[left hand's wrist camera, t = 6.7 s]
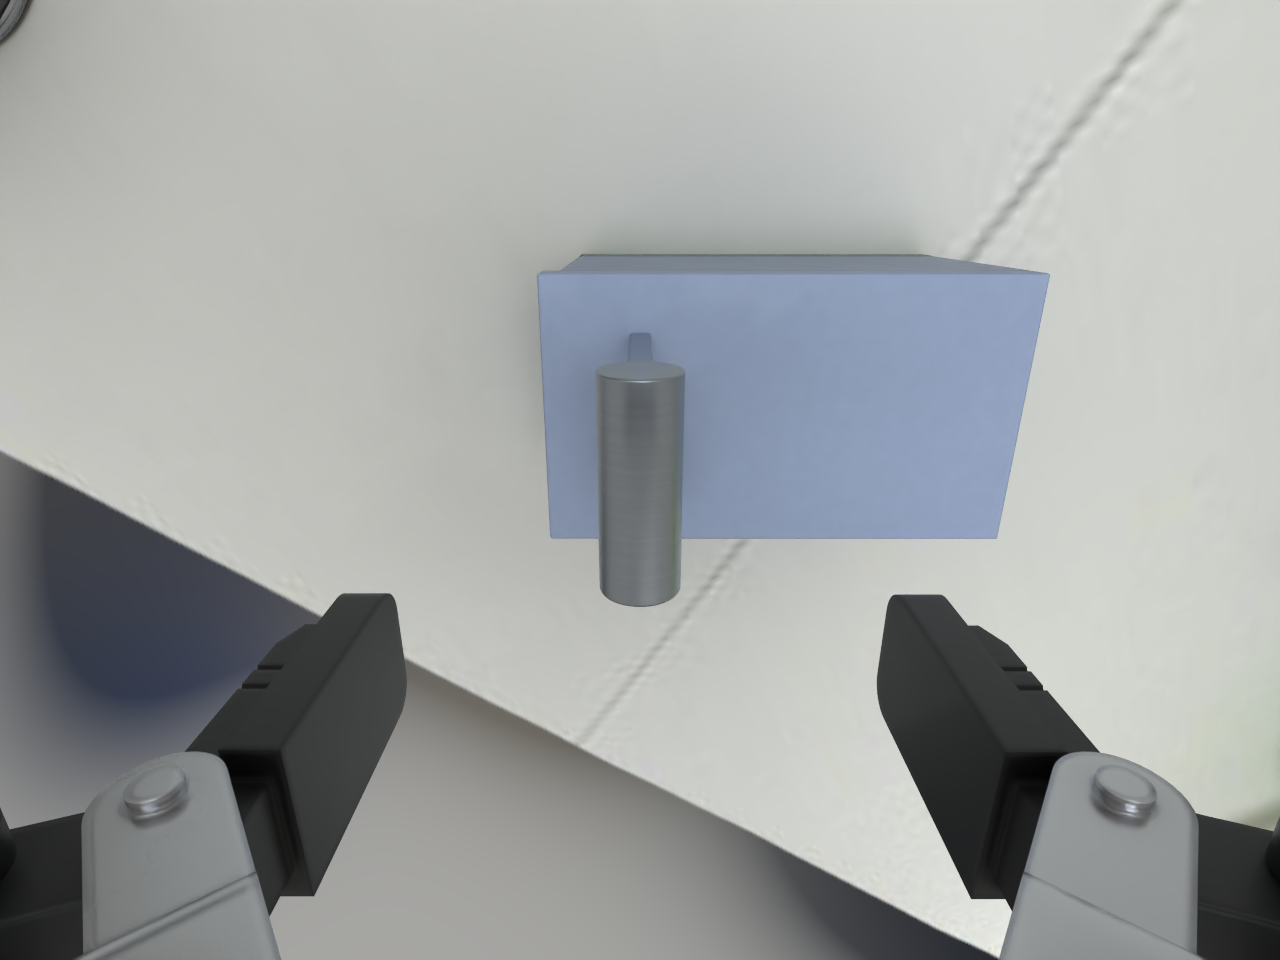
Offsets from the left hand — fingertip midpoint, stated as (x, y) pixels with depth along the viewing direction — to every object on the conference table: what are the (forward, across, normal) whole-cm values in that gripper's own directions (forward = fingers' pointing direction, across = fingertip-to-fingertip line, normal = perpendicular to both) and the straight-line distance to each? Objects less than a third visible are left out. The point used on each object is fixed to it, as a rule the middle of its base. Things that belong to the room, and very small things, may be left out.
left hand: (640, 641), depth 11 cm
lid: (+15, -5, 0) cm, 16 cm away
